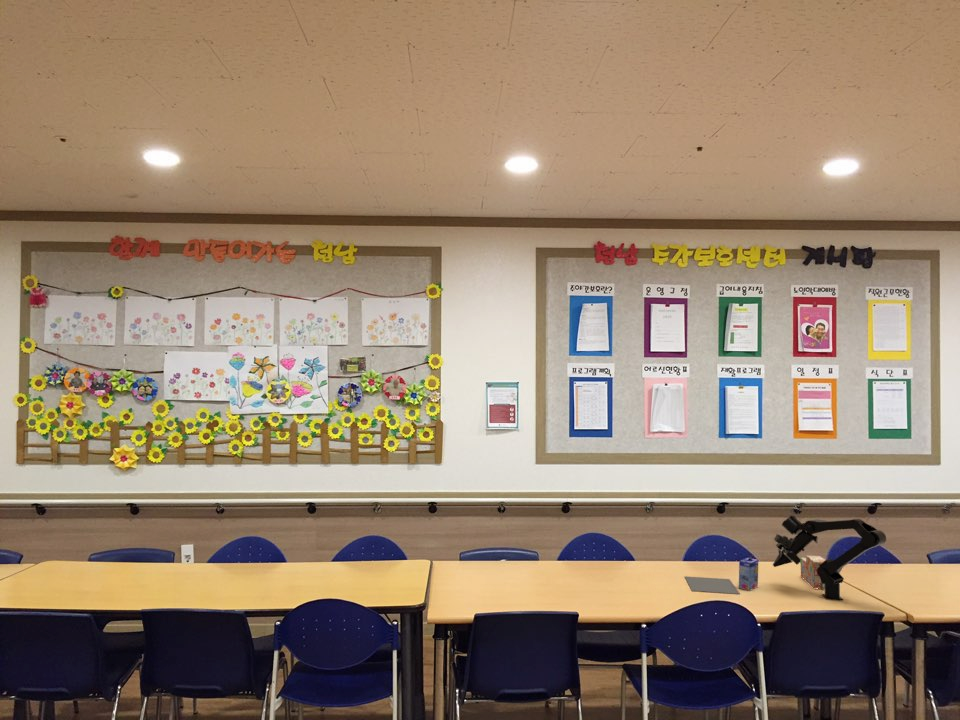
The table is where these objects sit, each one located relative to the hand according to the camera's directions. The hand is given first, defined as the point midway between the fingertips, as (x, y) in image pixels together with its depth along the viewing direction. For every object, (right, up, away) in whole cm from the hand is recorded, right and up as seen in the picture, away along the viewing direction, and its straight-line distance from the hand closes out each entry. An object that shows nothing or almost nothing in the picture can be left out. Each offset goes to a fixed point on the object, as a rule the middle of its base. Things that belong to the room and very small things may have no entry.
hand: (773, 566), depth 296 cm
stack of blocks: (+24, -12, +11) cm, 28 cm away
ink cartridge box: (-11, -10, +1) cm, 15 cm away
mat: (-26, -10, +4) cm, 28 cm away
